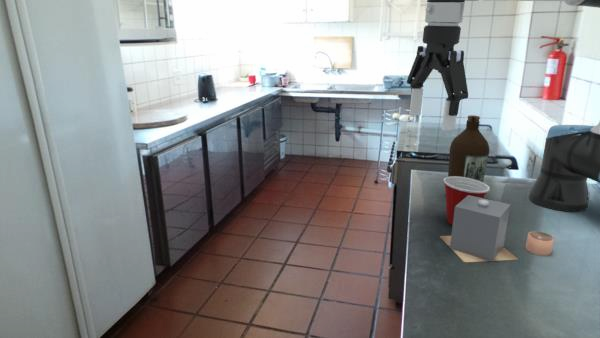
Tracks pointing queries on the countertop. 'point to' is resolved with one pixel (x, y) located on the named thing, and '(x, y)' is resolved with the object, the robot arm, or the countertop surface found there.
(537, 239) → the terracotta pot
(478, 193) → the plastic cup
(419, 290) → the countertop surface
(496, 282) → the countertop surface
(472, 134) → the brown glass bottle shape
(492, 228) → the grey knobbed cube
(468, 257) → the oak board
